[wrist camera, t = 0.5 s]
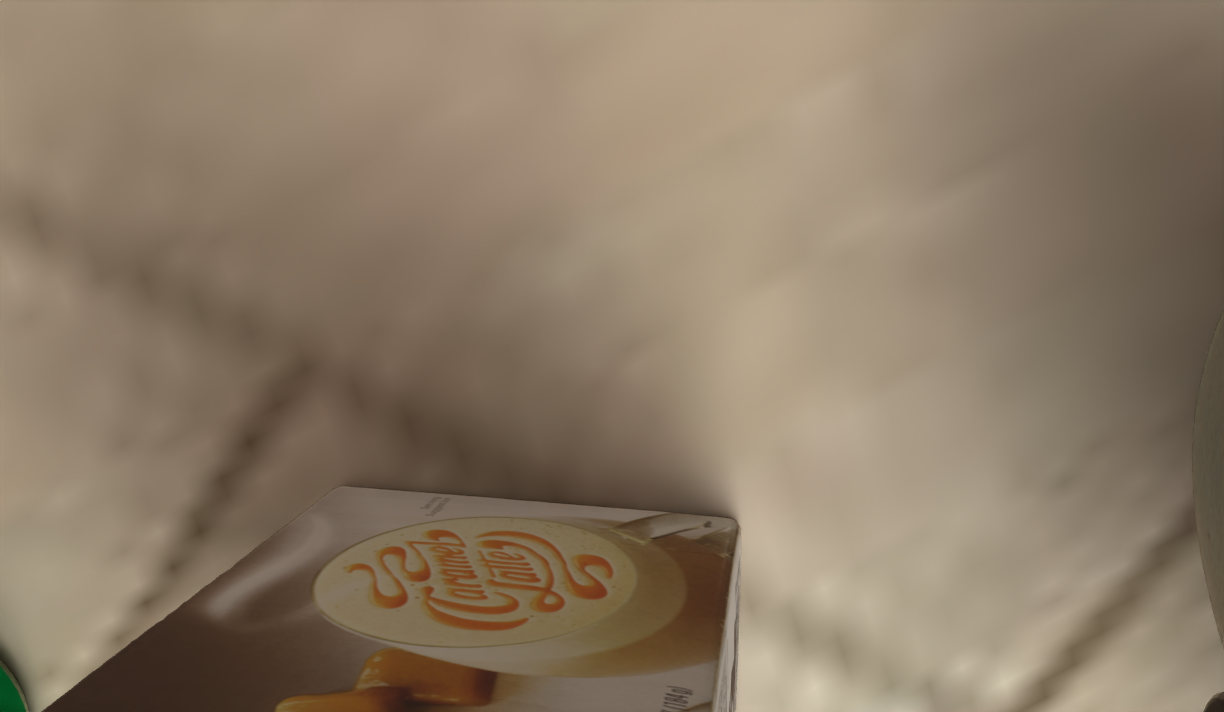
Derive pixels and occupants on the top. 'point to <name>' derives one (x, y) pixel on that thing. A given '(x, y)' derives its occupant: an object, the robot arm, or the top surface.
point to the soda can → (10, 692)
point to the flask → (1211, 472)
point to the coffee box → (449, 615)
